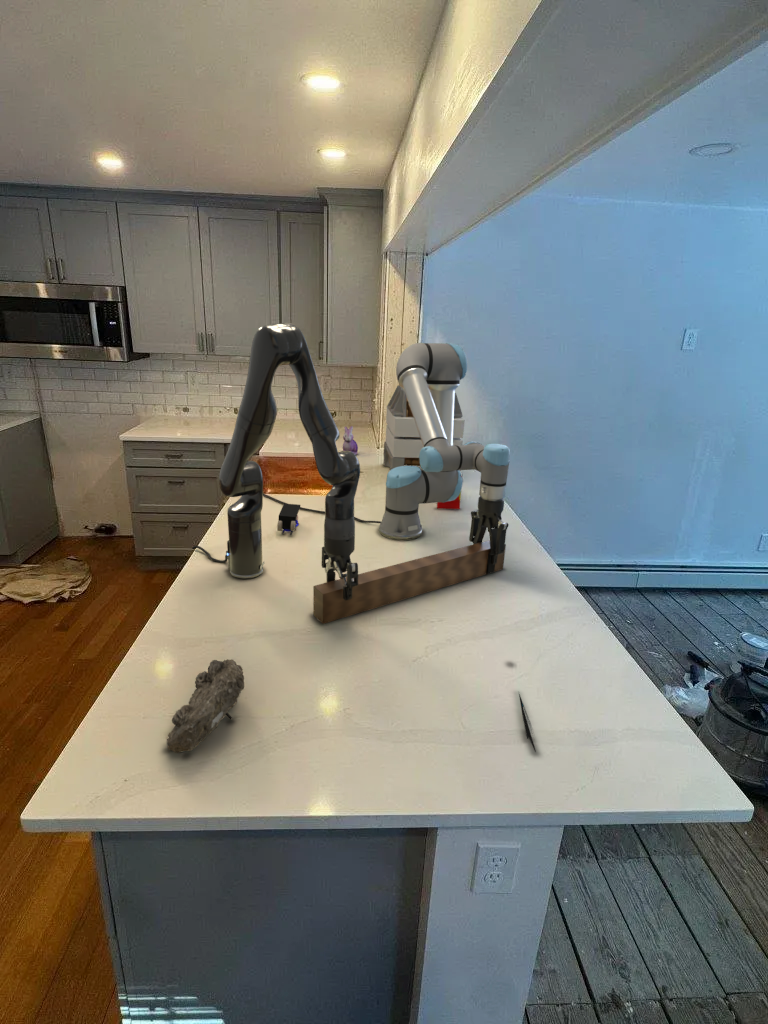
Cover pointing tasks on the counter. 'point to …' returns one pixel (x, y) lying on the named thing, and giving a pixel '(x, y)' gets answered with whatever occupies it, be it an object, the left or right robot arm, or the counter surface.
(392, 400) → the grey wooden crate
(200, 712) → the fossil
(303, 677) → the counter surface
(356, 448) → the figurine
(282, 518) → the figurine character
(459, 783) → the counter surface
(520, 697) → the feather
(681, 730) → the counter surface
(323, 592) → the post
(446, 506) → the toy
